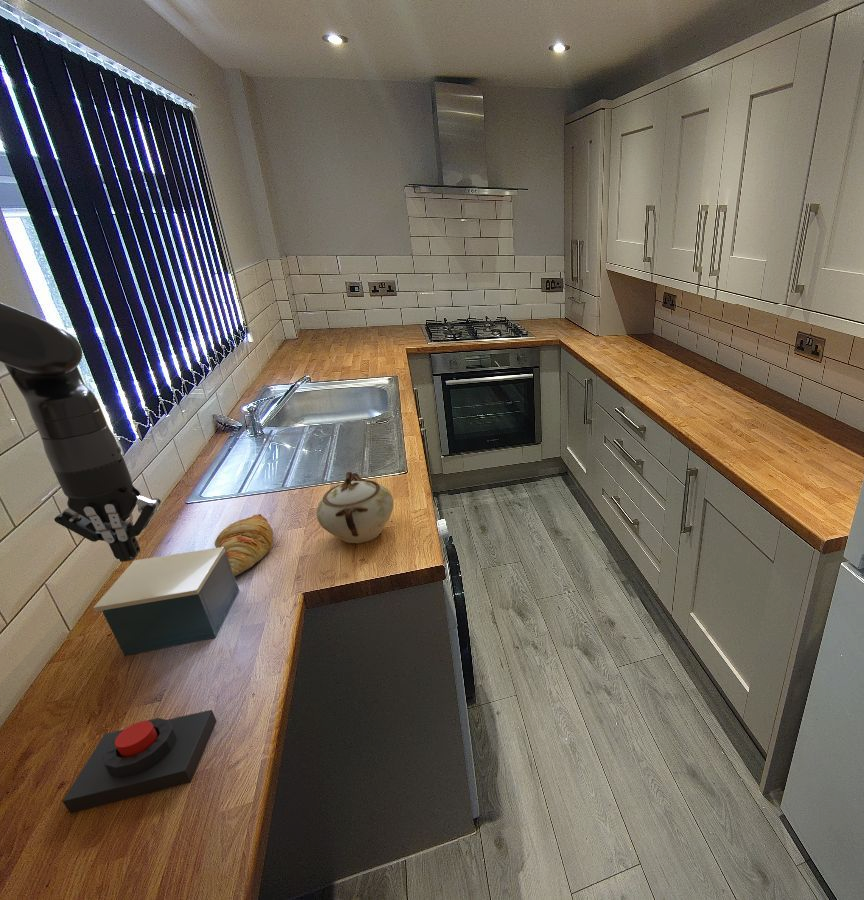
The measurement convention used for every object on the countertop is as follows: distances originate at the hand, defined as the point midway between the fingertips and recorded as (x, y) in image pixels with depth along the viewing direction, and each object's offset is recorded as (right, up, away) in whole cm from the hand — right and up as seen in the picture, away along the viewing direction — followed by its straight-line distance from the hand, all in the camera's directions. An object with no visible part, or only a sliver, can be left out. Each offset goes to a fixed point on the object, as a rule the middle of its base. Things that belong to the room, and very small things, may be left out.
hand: (130, 558), depth 83 cm
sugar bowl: (+23, -1, +31) cm, 38 cm away
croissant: (+2, -4, +25) cm, 25 cm away
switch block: (+18, -22, -17) cm, 34 cm away
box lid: (+3, -4, +3) cm, 6 cm away
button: (+18, -19, -19) cm, 32 cm away
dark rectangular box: (+4, -12, +6) cm, 14 cm away
